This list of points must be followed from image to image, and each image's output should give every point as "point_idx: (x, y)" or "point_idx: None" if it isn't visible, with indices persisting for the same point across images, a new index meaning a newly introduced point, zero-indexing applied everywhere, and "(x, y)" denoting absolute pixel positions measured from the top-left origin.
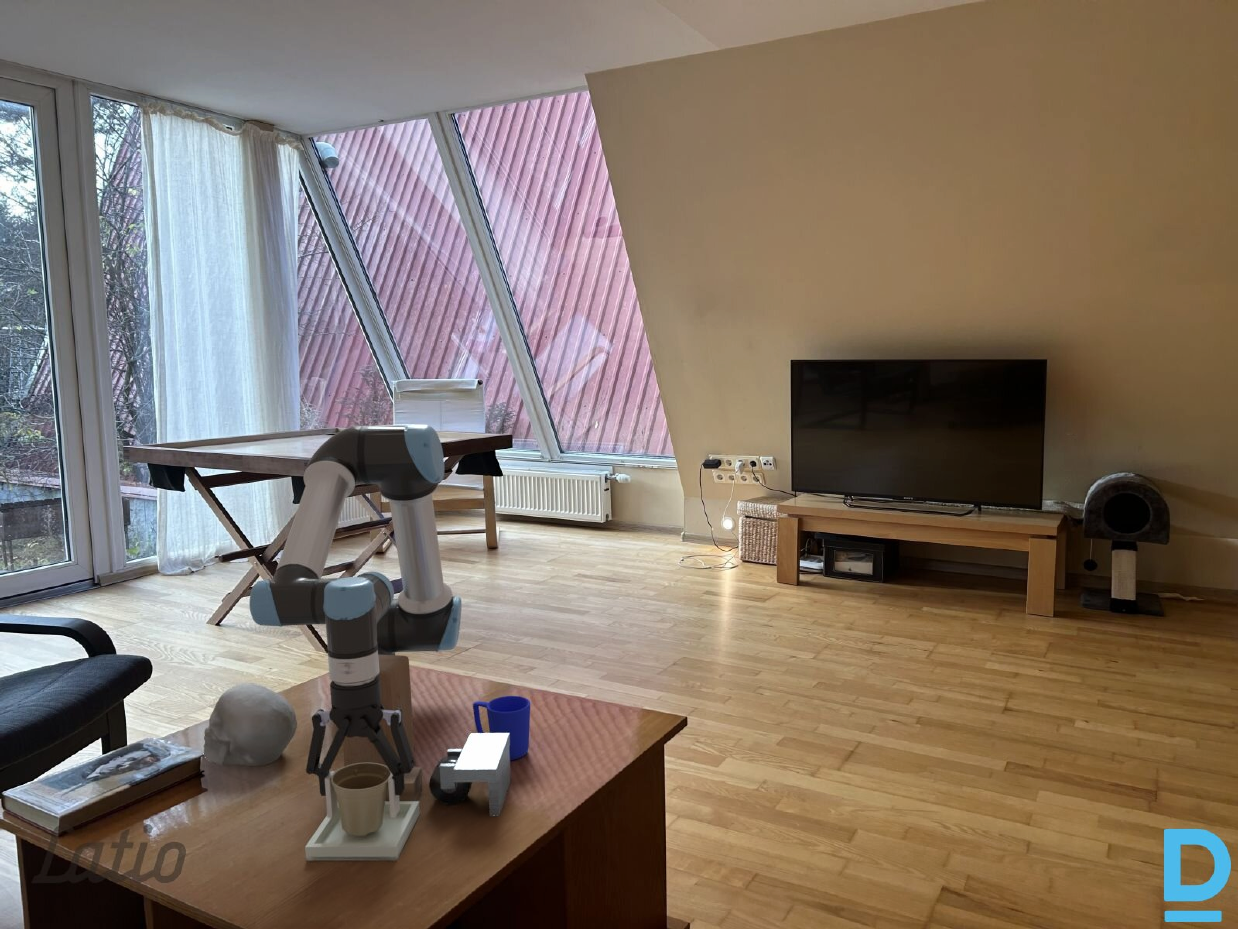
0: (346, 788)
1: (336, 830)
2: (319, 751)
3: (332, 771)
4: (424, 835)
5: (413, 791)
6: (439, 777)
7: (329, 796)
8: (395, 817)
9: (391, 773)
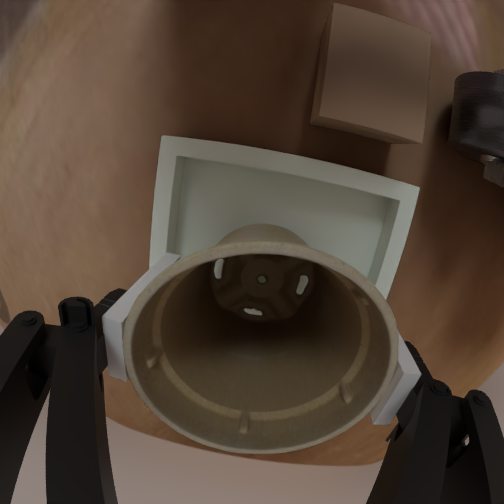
0: (190, 272)
1: (191, 246)
2: (19, 408)
3: (110, 323)
4: (406, 289)
5: (409, 142)
6: (496, 154)
7: None
8: (346, 208)
9: (393, 395)
